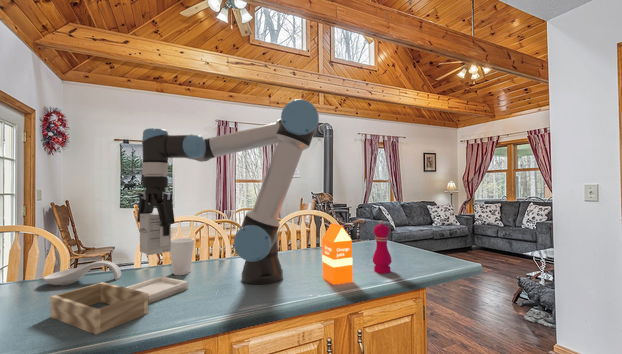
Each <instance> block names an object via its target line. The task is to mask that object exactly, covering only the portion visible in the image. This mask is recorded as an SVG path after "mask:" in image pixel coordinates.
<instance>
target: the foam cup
mask: <svg viewBox="0 0 622 354" xmlns="http://www.w3.org/2000/svg"><path fill="white" fill-rule="evenodd" d="M194 246H195V239H194V238H192V237H191V238H190V237H181V238H174V239H171V251H170V252H169V255H170V261H171V262H170V263H171V264H170V265H171V271H172V274H174V276H182V275H187V274H190V273H191V270H192V269H191V267H192V260H193V252H194V248H195V247H194ZM189 272H190V273H189Z"/></svg>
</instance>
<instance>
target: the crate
mask: <svg viewBox="0 0 622 354" xmlns="http://www.w3.org/2000/svg"><path fill="white" fill-rule="evenodd" d="M99 303H103V304H107V305H105V306H101V307H99V308H96V307H94V306H92V305H95V304H99ZM49 304H50V309H49V310H50V312H49V313H50V315H49V316H50V318H52V319H55V320H56V321H60V322H62V323H65V324H68V325H69V326H73V327H74V328H78V329H80V330H83V331H85V332H87V333H90V334H92V333H93V335H98V334H101V333H103V332H106V331H109V330H110V329H113V328H115V327H118V326H120V325H123V324H125V323H128V322H130V321H132V320H135V319H138V318H140V317H142V316H145V315H147V314H148V313H149V303H148V293H145V292H141V291H137V290H133V289H129V288H125V287H124V286H121V285H116V284H113V283H108V282H103V281H101V282H99V283H95V284H90V285H87V286H83V287H80V288H76V289H72V290H69V291H65V292H62V293H58V294H53V295H50V303H49Z"/></svg>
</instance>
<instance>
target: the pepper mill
mask: <svg viewBox="0 0 622 354" xmlns="http://www.w3.org/2000/svg"><path fill="white" fill-rule="evenodd" d="M373 233H374V235H375V241H376V245H375V246H376V248H375V250H374V254H373V256H372V263H373V264H374V266H373V269H374V272H375V273H378V274H389V273H391V266H390V265H391V264H392V262H393V261H392V256H391V254H390V252H389V251H390V250H389V248H388V241H389V236H388V235H389V234H390V228H389V226H387V225H386V224H384V220H379V221H378V224H377V225H375V226H374V228H373Z"/></svg>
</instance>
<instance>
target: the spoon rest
mask: <svg viewBox="0 0 622 354" xmlns="http://www.w3.org/2000/svg"><path fill="white" fill-rule="evenodd" d="M97 266H105V267H107V268H110V270H111V271H112V273H113V277H114V280H115V281H116V280H118V279H120V278H121V277H122V271H121V269H120V267H119V266H118V265H117V263H114V262H112V261H110V260H103V259H102V260H96V261H93V262H92V263H91V262H90V263H89V264H86V265H84V266H80V267H76V268H69V269H64V270H60V271H56V272H52V273H50V274H48V275H46V276H44V277H43V278H42V279H43V280H44V282H46V283H47V284H49V285H53V286H57V285H61V286H67V285H72V284H75V283H77V282H78V281H79V280H80V279H82V278H83V277H84V276H85V275H86V273H88V272H89V271H90V270H91V269H93V268H94V267H95V268H96V267H97Z"/></svg>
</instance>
